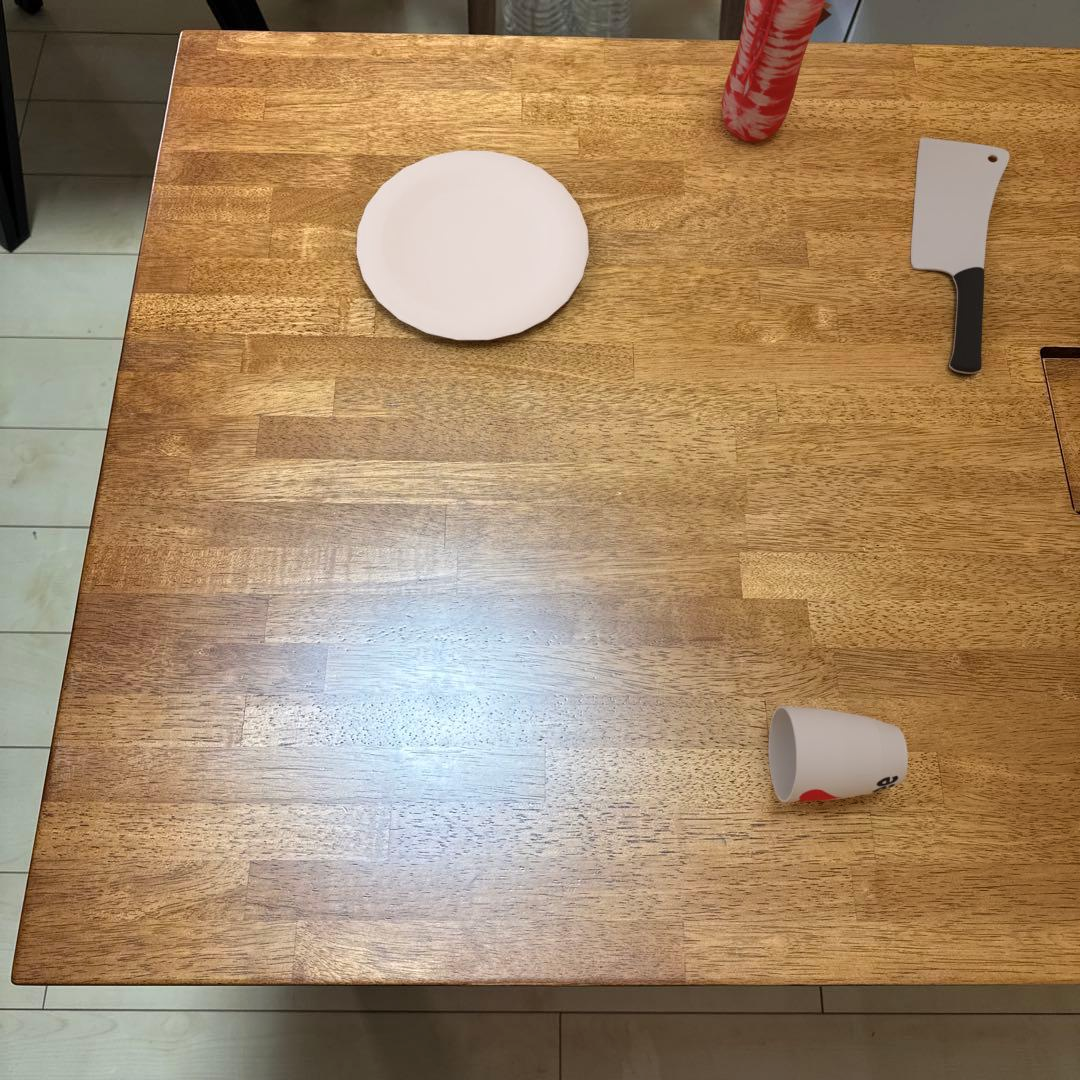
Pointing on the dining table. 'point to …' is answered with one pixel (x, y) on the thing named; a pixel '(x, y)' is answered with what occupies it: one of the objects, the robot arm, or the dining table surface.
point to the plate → (472, 245)
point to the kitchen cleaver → (957, 230)
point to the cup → (832, 754)
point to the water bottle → (768, 64)
